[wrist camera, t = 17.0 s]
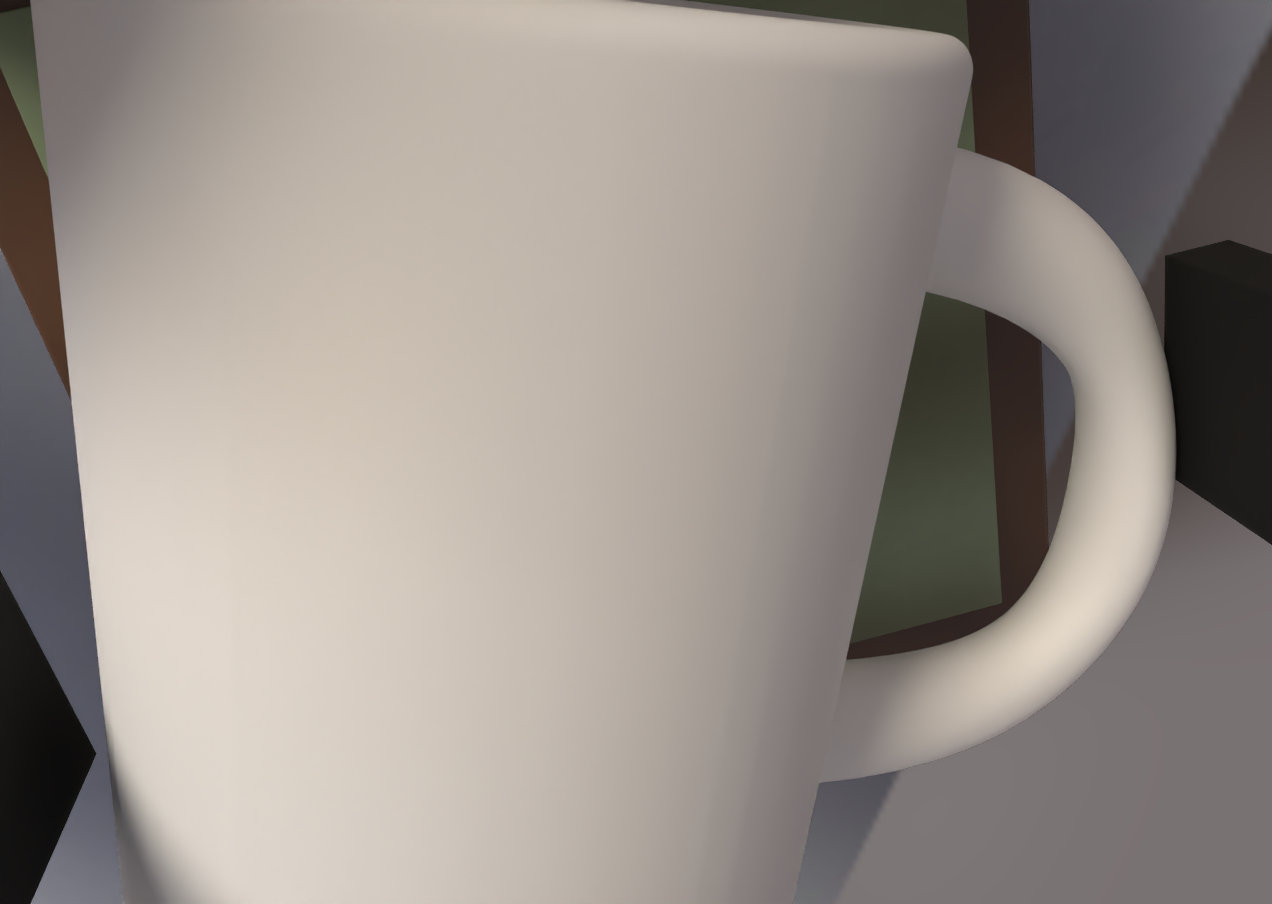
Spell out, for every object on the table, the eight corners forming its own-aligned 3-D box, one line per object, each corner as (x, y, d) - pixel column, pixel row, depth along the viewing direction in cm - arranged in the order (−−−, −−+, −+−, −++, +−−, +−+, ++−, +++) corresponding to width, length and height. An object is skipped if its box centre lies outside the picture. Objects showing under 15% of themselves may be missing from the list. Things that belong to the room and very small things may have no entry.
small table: (915, 480, 25) (1059, 635, 19) (310, 636, 24) (270, 849, 18) (848, -224, 19) (1028, -307, 13) (37, -51, 18) (-153, -59, 12)
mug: (201, 659, 17) (20, 1193, 9) (160, -61, 13) (-209, -94, 5) (935, 656, 19) (1239, 1085, 12) (1090, 46, 15) (1691, 123, 8)
